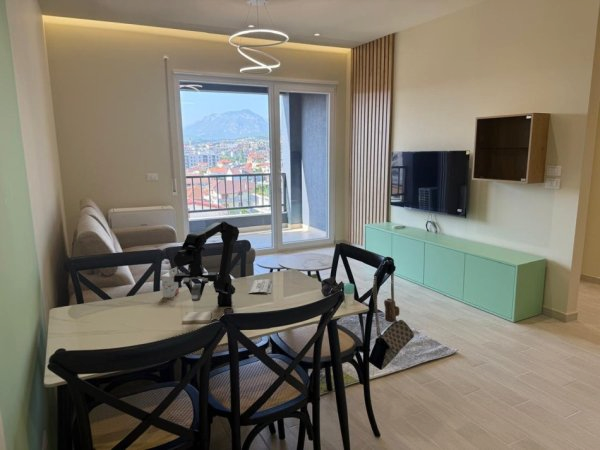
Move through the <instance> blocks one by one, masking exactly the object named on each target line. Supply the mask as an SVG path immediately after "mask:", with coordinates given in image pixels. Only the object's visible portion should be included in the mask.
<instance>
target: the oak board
mask: <svg viewBox="0 0 600 450" xmlns="http://www.w3.org/2000/svg"><path fill="white" fill-rule="evenodd" d="M212 317H213V311H186V312H185V314H184V315H183V318H182V320H181V324H202V323H203V324H206V323H207V324H208V323H211V320H212Z"/></svg>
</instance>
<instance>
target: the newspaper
mask: <svg viewBox="0 0 600 450" xmlns="http://www.w3.org/2000/svg"><path fill="white" fill-rule="evenodd" d="M252 281H253V282H252V284H251V286H250V288H249V291H248V292H247V294H252V293H262V295H268V294H272V288H273V287H272V286H273V283H272V280H271V279H269V278H267V279H265V278H264V279H256V280H252Z"/></svg>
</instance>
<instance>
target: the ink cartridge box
mask: <svg viewBox="0 0 600 450" xmlns="http://www.w3.org/2000/svg"><path fill="white" fill-rule="evenodd" d="M176 273H179V272H178V266H175V267H174V268H171V269H169V271H168V272H167V273H165V274H162V275H161V287H162V288H161V290H162V298H167V299H171V298H173V297H174V296H176V295H178V294H179V282H174V276H175V274H176Z"/></svg>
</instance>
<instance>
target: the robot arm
mask: <svg viewBox="0 0 600 450" xmlns="http://www.w3.org/2000/svg"><path fill="white" fill-rule="evenodd" d="M218 233H220V238H221V240H222V251H221V257H220V265H219V271H218V272H217V271H214V272H213V271H212V272H211V271H209V272H208V274H204V273H205V272H204V271H205V266H204V265H203V252H204V251H206V248H205V247H204V246H205V244H206V243H207V240H208V239H211V238H212V237H214V236H215V235H216V234H218ZM239 234H240V229H239V228H238V227H237V226H234V225H232V224H230V223H228V222H226V221H224V220H216V221H214V222H213V223H211V224H210V225H209V226H207V227H205V228H203V229H202V230H199V231H193V232H191V233H188V234H187V235H186V238H185V240H184V241H183V244H182V246H181V248H180V249H181V250H178V251H176V252H177V253H176V254H175V255H174V258H173V262H174V264H175V265H176V266H175V267H177V268H182V267H185V266H187V271H188V272H189V274H186V273H185V272H178V273H176V274H175V276H174V282H178V283H181V282H182V284H183V285H185V286H186V287H187V289H188V290H189V293H190V294H191V289H192V287H193V281H192V280H201V282H200V284H201V297H202V296H203V293H204V288H205V285H206V284H209V283H210V282H211V283H212V282H213V283H212V285H213V289H214V292H215V294H217V293H218V294H217V306H218V307H219V308H220V307H221V308H223V307H224V308H225V307H228V308H229V307H232V306H233V295H234V294H235V293H236V287H235V286H234V285H233V284H232V280H233V279H232V278H231V274H230V272H231V271H230V270H231V267H232V266H231V265H232V257H233V251H234V245H235V243H236V242H237V241H238V240H239V239H238V238H239ZM190 296H192V294H191V295H190Z"/></svg>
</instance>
